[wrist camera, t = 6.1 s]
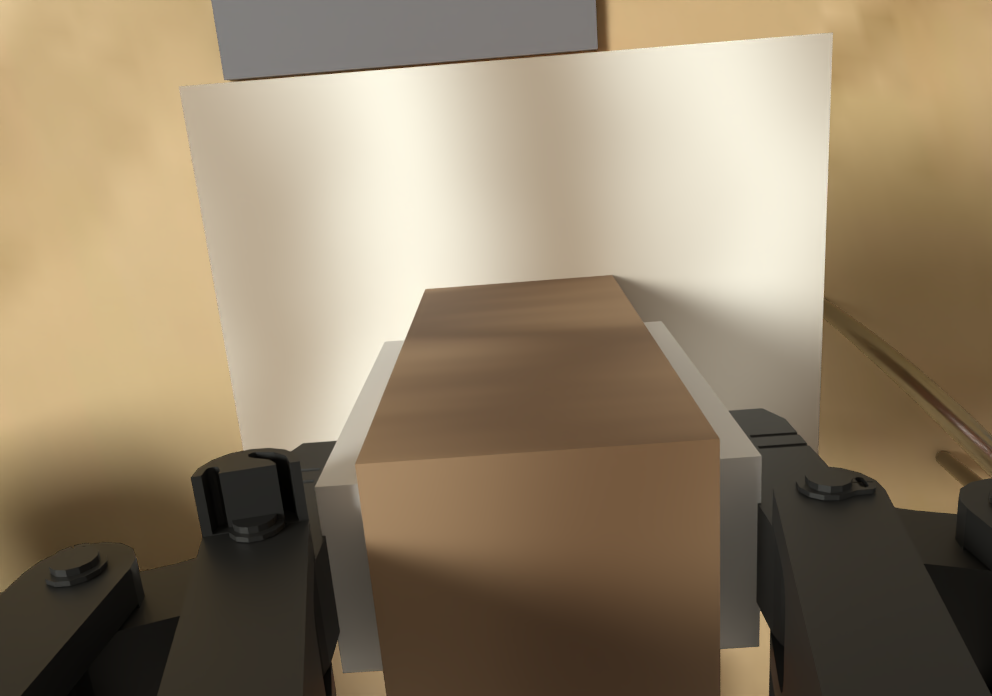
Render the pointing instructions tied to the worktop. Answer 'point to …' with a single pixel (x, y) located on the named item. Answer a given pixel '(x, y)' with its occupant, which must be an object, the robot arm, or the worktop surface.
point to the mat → (392, 33)
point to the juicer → (921, 395)
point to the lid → (528, 332)
